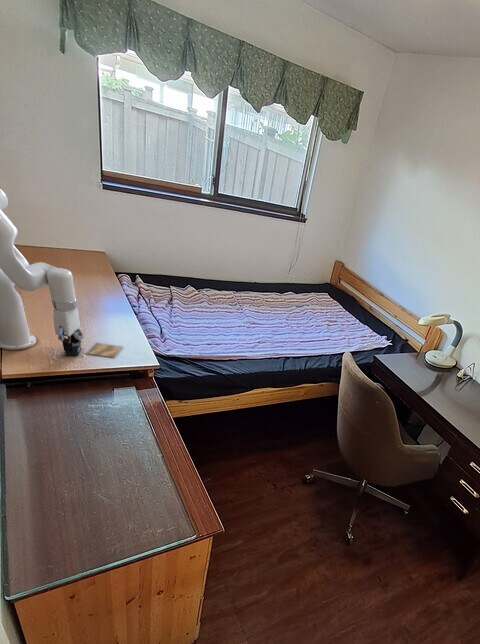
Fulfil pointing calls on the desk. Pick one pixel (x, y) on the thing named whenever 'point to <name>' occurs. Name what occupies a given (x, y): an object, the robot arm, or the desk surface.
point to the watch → (76, 346)
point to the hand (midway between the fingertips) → (72, 347)
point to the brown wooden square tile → (104, 350)
